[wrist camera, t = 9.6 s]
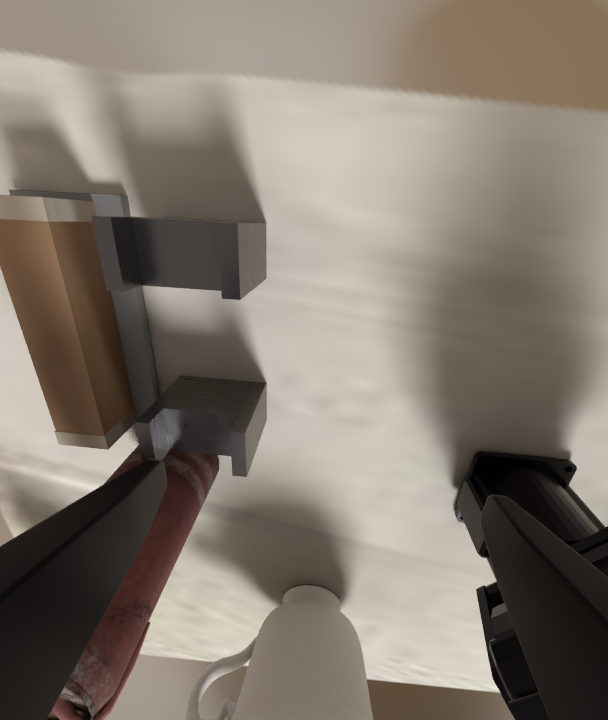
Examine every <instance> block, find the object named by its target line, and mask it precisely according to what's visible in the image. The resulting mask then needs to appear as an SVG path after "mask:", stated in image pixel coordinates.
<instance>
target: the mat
mask: <svg viewBox="0 0 608 720" xmlns="http://www.w3.org/2000/svg"><path fill="white" fill-rule="evenodd" d="M9 192H10V196H29V197H46V198H58V199H70V200H82V201H94V205H95V210H96V215H97V216H122V217H130V211H129V205H128V199H127V196H123V195H107V194H86V193H66V192H45V191H24V190H9ZM111 295H112V300H113V305H114V310H115V315H116V319H117V324H118V329H119V334H120V339H121V344H122V349H123V354H124V358H125V363H126V368H127V373H128V378H129V383H130V388H131V392H132V397H133V402H134V407H135V408H136V411H137V416H138V418H139V417H140V416H141V415H142V414H143V413H144V412H145V411H146V410H147V409H148V408H149V407H150V406H151V405H152V404H153V403H154V402H155V401H156V400H157V399H158V398H159V397H160V396H159V390H158V383H157V377H156V371H155V365H154V359H153V353H152V347H151V340H150V334H149V328H148V322H147V316H146V310H145V304H144V297H143V291H142V286H140V287H137V288H134V289H131V290H128V291H125V292H121V291H111ZM134 424H135V423H134Z"/></svg>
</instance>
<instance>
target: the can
mask: <svg viewBox="0 0 608 720" xmlns="http://www.w3.org/2000/svg"><path fill="white" fill-rule="evenodd" d="M162 461H163V462H164V466H165V472H166V477H167V487H166V490H165V493H164V495H163V498H162V500H161V502H160V505H159V507H158V509H157V512H156V514H155V516H154V519H153V521H152V523H151V526H150V528H149V530H148V533H147V535H146V537H145V539H144V542H143V544H142V546H141V548H140V550H139V551H138V553H137V555H136V557H135V559H134V561H133V563H132V564H131V566H130V568H129V570H128V572H127V574H126V575H125V577H124V579H123V581H122V583H121V585H120V586H119V588H118V590H117V592H116V594H115V596H114V597H113V599H112V601H111V603H110V605H109V607H108V608H107V610H106V612H105V614H104V616H103V618H102V619H101V621H100V623H99V625H98V627H97V629H96V630H95V632H94V634H93V636H92V638H91V640H90V641H89V643H88V645H87V647H86V649H85V651H84V652H83V654H82V656H81V658H80V660H79V662H78V663H77V665H76V667H75V669H74V671H73V673H72V674H71V676H70V678H69V680H68V682H67V684H66V685H65V687H64V689H63V691H62V693H61V695H60V696H59V698H58V700H57V702H56V704H55V706H54V707H53V709H52V711H51V713H50V715H49V717H48V718H47V720H104V719H105V718H106V717H107V716H108V715H109V714H110V712H111V711H112V709H113V706H114V705H115V703H116V701H117V699H118V697H119V695H120V693H121V691H122V689H123V687H124V685H125V683H126V681H127V679H128V677H129V675H130V673H131V671H132V669H133V667H134V665H135V663H136V660H137V658H138V655H139V652H140V649H141V647H142V644H143V641H144V639H145V636H146V633H147V630H148V628H149V625H150V622H148V621H149V619H150V617H151V614H152V612H153V610H154V608H155V606H156V604H157V602H158V599H159V597H160V595H161V593H162V591H163V589H164V587H165V584H166V582H167V580H168V578H169V576H170V574H171V572H172V569H173V567H174V565H175V563H176V561H177V559H178V557H179V555H180V552H181V550H182V548H183V546H184V544H185V542H186V540H187V537H188V535H189V533H190V531H191V529H192V527H193V525H194V522H195V520H196V518H197V516H198V514H199V512H200V510H201V507H202V505H203V503H204V501H205V499H206V497H207V495H208V493H209V490H210V488H211V486H212V484H213V482H214V480H215V478H216V475H217V473H218V471H219V459H218V456H217V455H215V454H205V453H195V452H186V451H176V450H169V452H168V453H167V454H166V456H165V457H164V458H163V460H162ZM141 462H143V461H142V456H141V451H140V447H139V445H138V446H137V448H136V449H135V450H134V451H133V452H132V453H131V454H130V455H129V457H128V458H127V459H126V460H125V461H124V462H123V463H122V464H121V466H120V467H119V468H118V469H117V470H116V471H115V472H114V474H113V475H112V476H111V477H110V478H109V479H108V480H107V481H106V483H107V482H109V481H111V480H112V479H114V478H116V477H118V476H119V475H121V474H123V473H124V472H126V471H128V470H129V469H131V468H133V467H134V466H136V465H138V464H139V463H141ZM106 483H105V484H106Z"/></svg>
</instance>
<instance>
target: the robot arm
mask: <svg viewBox="0 0 608 720" xmlns="http://www.w3.org/2000/svg"><path fill="white" fill-rule="evenodd" d="M483 458H485V459H483ZM481 459H483V460H481ZM576 469H577V467H576V465H575V464H574V463H573V462H571V461H570V460H566V459H556V458H546V457H535V456H525V455H515V454H504V453H494V452H484V451H483V452H478V453H477V454H476V455H475V456H474V459H473V462H472V465H471V468H470V470H469V473H468V476H467V478H466V479H465V480H464V483H463V486H462V489H461V492H460V495H459V498H458V501H457V508H456V511H455V516H456V518H457V520H458V521H459V522H463V523H465V525H466V527H467V529H468V532H469V534H470V536H471V539H472V541H473V544H474V546H475V548H476V551H477V553H478V554H479V555H480V556H481V557H483V558H487V560H488V562H489V564H490V567H491V569H492V571H493V573H494V576H495V578H496V580H497V581H496V582H494V583H492V584H490V585H488V586H482V587H480V588H478V589H476V591H477V597H478V602H479V608H480V613H481V619H482V624H483V630H484V635H485V641H486V646H487V652H488V657H489V662H490V667H491V672H492V677H493V680H494V682H495V684H496V685H497V687H498V688H499V690H500V692H501V695H502V697H503V699H504V700H505V702H506V704H507V706H508V708H509V710H510V711H511V713H512V715H513V716H514V718H515V720H608V527H605V526H604V525H603V524H602V523H601V522H600V520H599V519H598V518H597V517H596V516H595V515H594V514H593V513H592V511H591V510H590V509H589V508H588V507H587V506H586V505H585V503H584V502H583V501H582V500H581V499H580V498H579V497H578V496H577V494H576V493H575V492H574V491H573V490H572V489H571V488H570V486H569V483H570V481H571V479H572V477H573V475H574V473H575V472H576ZM166 487H167V477H166V472H165V466H164V462H163V461H162V460H159V459H146V460H144V461H143V462H141V463H139V464H138V465H136V466H134V467H133V468H131V469H129V470H128V471H126V472H124V473H123V474H121V475H119V476H118V477H116V478H114V479H112V480H111V481H109V482H107V483H106V484H104V485H102V486H101V487H99V488H97V489H96V490H94V491H92V492H91V493H89V494H87V495H86V496H84V497H82V498H81V499H79V500H77V501H76V502H74V503H72V504H70V505H69V506H67V507H65V508H64V509H62V510H60V511H59V512H57V513H55V514H54V515H52V516H50V517H49V518H47V519H45V520H44V521H42V522H40V523H39V524H37V525H35V526H34V527H32V528H30V529H28V530H27V531H25V532H23V533H22V534H20V535H18V536H17V537H15V538H13V539H12V540H10V541H8V542H7V543H5V544H3V545H2V546H0V720H47V718H48V717H49V715H50V713H51V711H52V709H53V707H54V706H55V704H56V702H57V700H58V698H59V696H60V695H61V693H62V691H63V689H64V687H65V685H66V684H67V682H68V680H69V678H70V676H71V674H72V673H73V671H74V669H75V667H76V665H77V663H78V662H79V660H80V658H81V656H82V654H83V652H84V651H85V649H86V647H87V645H88V643H89V641H90V640H91V638H92V636H93V634H94V632H95V630H96V629H97V627H98V625H99V623H100V621H101V619H102V618H103V616H104V614H105V612H106V610H107V608H108V607H109V605H110V603H111V601H112V599H113V597H114V596H115V594H116V592H117V590H118V588H119V586H120V585H121V583H122V581H123V579H124V577H125V575H126V574H127V572H128V570H129V568H130V566H131V564H132V563H133V561H134V559H135V557H136V555H137V553H138V551H139V550H140V548H141V546H142V544H143V542H144V539H145V537H146V535H147V533H148V530H149V528H150V526H151V523H152V521H153V519H154V516H155V514H156V512H157V509H158V507H159V505H160V502H161V500H162V498H163V495H164V493H165V490H166Z"/></svg>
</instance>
